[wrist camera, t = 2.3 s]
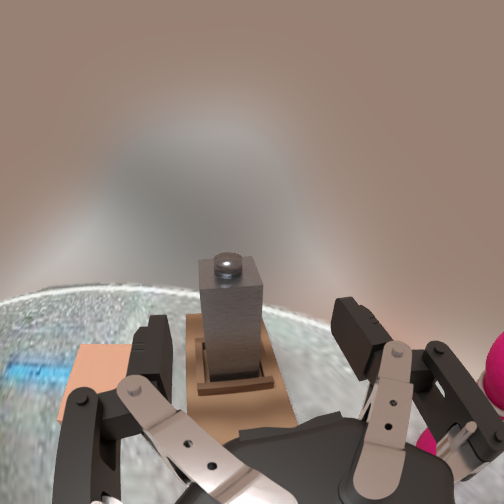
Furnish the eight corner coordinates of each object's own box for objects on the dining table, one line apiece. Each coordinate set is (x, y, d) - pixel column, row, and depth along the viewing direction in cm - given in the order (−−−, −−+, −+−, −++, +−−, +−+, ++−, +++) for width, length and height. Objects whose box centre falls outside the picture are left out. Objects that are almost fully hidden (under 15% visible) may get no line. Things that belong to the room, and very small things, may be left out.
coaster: (169, 432, 25) (167, 428, 24) (60, 424, 22) (56, 420, 22) (170, 348, 36) (169, 343, 36) (83, 349, 34) (80, 343, 33)
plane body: (297, 448, 23) (306, 419, 21) (194, 461, 22) (183, 435, 19) (258, 325, 41) (259, 290, 38) (188, 330, 39) (183, 296, 37)
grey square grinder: (258, 380, 28) (263, 271, 23) (210, 385, 28) (198, 276, 22) (250, 348, 33) (252, 244, 27) (207, 352, 32) (197, 247, 26)
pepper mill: (458, 491, 15) (596, 347, 6) (398, 502, 16) (544, 357, 7) (451, 438, 21) (551, 288, 12) (396, 443, 22) (492, 282, 14)
